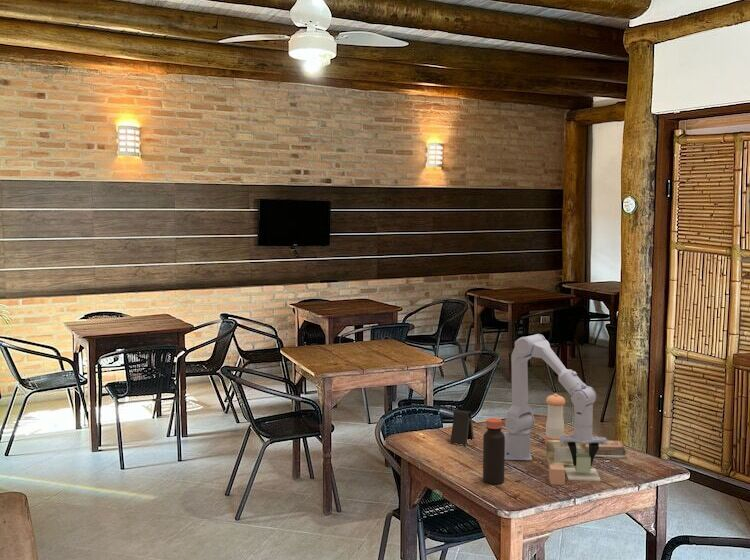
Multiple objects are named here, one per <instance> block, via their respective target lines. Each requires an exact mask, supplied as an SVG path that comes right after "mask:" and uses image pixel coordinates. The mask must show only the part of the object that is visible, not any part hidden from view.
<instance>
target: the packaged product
mask: <svg viewBox="0 0 750 560" xmlns="http://www.w3.org/2000/svg"><path fill="white" fill-rule="evenodd" d="M598 445H599V449H598V451H597V453H596V454H595V457H606V458H605V459H620V458H627V459H628V457H627V455H626V452H627V451H626V447H625V445H624V444H623V442H622V441H621V440H608V439H606V445H603V444H598ZM586 453H589V444H586Z"/></svg>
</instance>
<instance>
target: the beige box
mask: <svg viewBox="0 0 750 560" xmlns="http://www.w3.org/2000/svg"><path fill="white" fill-rule="evenodd" d="M553 444H561V443H560V440H547V442H546V445H545V447H546V450H545V456H546V457H545V459H546V463H547V464H546V465H547V466H548V468H549V464H550V465H563V466H564V467H565V468H574V467H575V466H574V465H573V463H558V462H554V460H553ZM564 444H567V443H564ZM575 444H576V445H580V446H581V448H582V453H586V444H580V443H575Z"/></svg>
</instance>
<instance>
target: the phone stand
mask: <svg viewBox="0 0 750 560" xmlns="http://www.w3.org/2000/svg"><path fill="white" fill-rule="evenodd" d="M452 416H453V419H452V428H451V435H450V442H451V443H457V444H463V445H466V444H467V439H471V440H472V439H474V440H475V436H474V429H473V428H474V427H473V422H472V410H464V409H457V408H456V409H454V410H453V415H452ZM450 442H449V443H450ZM466 446H467V445H466Z"/></svg>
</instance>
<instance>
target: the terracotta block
mask: <svg viewBox="0 0 750 560" xmlns="http://www.w3.org/2000/svg"><path fill="white" fill-rule="evenodd" d="M548 481H549V484H550V485H554V486H555V485H558V486H565V485H566V483H565V482H566V472H565V468H564V466H563V465H550V464H549V467H548Z"/></svg>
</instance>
